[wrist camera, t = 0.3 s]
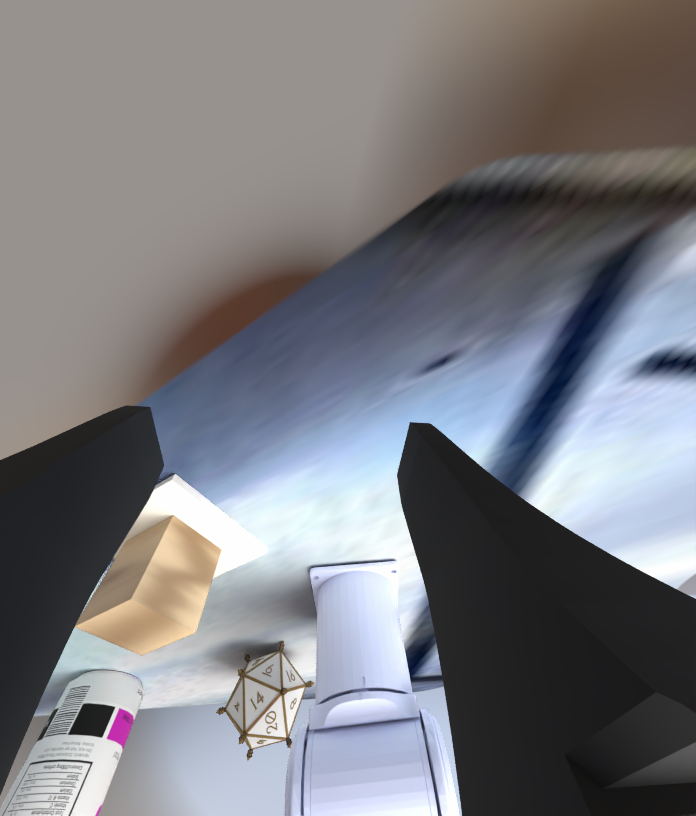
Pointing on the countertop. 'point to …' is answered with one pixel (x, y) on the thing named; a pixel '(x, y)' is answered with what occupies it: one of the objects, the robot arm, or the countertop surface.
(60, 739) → the supplement can
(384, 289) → the countertop surface
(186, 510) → the tile
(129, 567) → the oak cube
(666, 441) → the countertop surface
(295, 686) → the game die
